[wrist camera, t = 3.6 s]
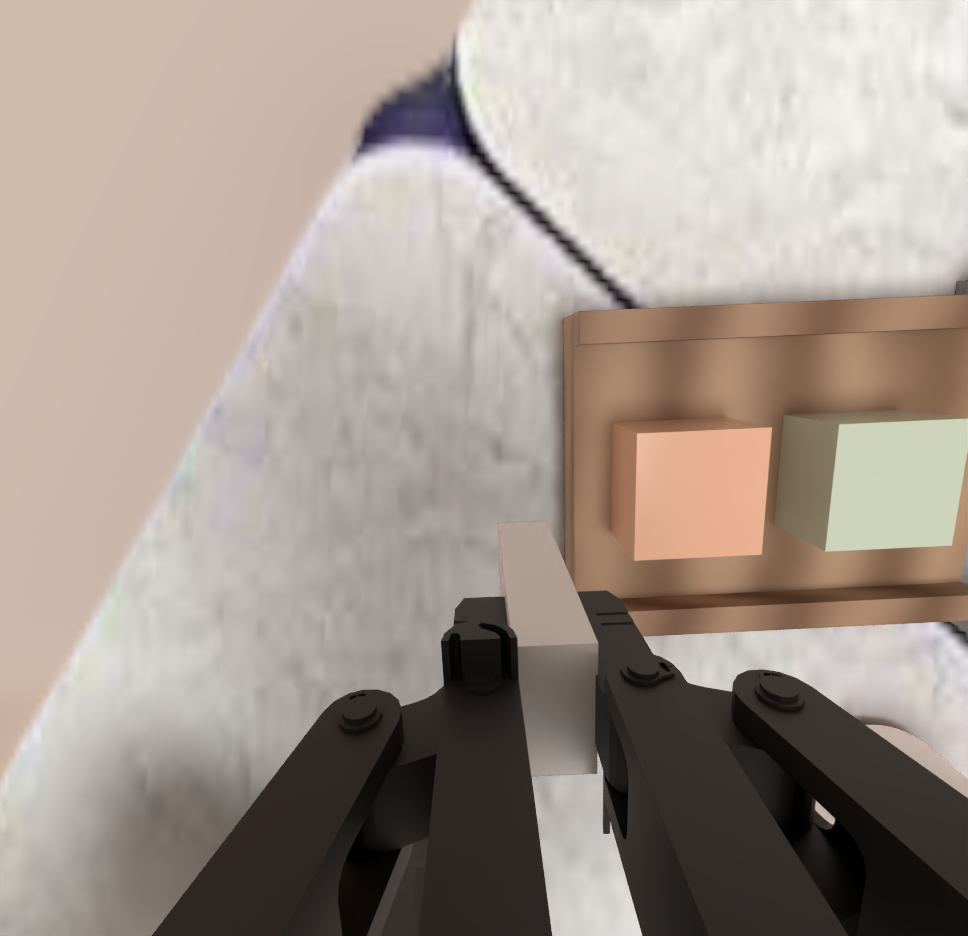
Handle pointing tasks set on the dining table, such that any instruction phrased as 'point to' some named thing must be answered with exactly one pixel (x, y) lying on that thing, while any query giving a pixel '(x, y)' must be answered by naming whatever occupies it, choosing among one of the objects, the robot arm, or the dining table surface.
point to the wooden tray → (765, 400)
